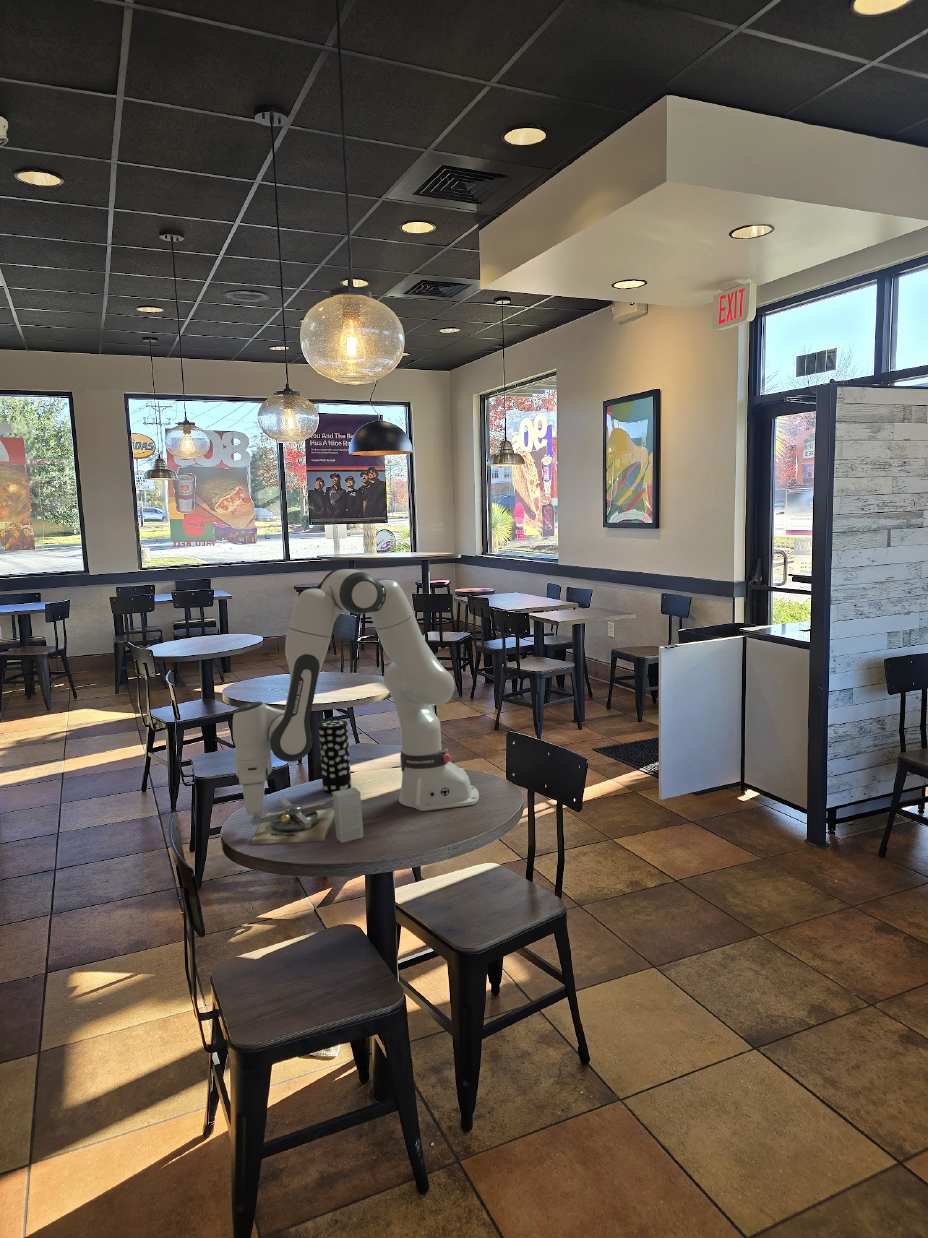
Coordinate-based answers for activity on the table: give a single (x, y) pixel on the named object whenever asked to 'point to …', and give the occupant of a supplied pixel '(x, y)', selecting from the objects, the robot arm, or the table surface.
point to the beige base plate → (311, 834)
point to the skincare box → (348, 814)
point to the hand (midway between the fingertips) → (257, 819)
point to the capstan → (293, 816)
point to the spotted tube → (334, 755)
